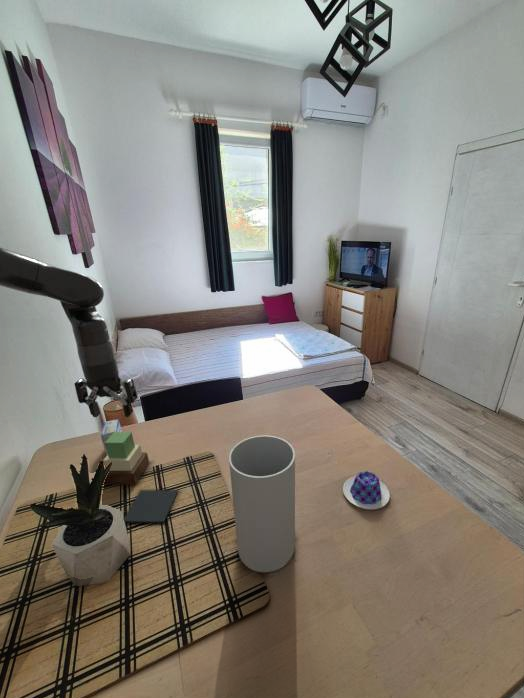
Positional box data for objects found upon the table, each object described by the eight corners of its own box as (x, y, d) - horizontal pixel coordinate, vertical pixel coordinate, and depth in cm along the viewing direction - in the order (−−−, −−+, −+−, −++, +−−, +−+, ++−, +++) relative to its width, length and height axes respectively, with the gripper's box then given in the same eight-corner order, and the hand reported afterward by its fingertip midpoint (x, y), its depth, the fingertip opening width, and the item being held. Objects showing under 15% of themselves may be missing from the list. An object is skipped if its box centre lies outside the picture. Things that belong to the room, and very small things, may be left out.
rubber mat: (122, 522, 78) (122, 521, 77) (141, 491, 87) (140, 490, 87) (164, 523, 77) (163, 521, 77) (178, 492, 87) (177, 490, 86)
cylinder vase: (304, 537, 73) (306, 447, 64) (275, 586, 64) (271, 487, 54) (259, 515, 79) (254, 429, 70) (226, 556, 69) (214, 462, 60)
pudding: (333, 486, 88) (334, 471, 86) (368, 472, 93) (370, 457, 91) (362, 518, 78) (364, 502, 76) (399, 500, 83) (402, 484, 81)
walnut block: (103, 484, 89) (100, 473, 88) (119, 463, 98) (117, 452, 96) (136, 484, 89) (133, 473, 88) (149, 463, 98) (147, 452, 96)
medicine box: (122, 455, 101) (116, 431, 98) (106, 458, 100) (100, 435, 96) (124, 441, 108) (118, 418, 104) (109, 444, 106) (103, 421, 103)
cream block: (105, 470, 89) (102, 460, 87) (118, 454, 95) (116, 444, 94) (131, 470, 89) (128, 460, 87) (142, 454, 95) (140, 444, 94)
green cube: (108, 457, 88) (104, 442, 86) (117, 446, 93) (114, 431, 91) (126, 458, 88) (122, 442, 86) (135, 446, 93) (131, 432, 91)
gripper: (133, 353, 83) (145, 408, 89) (78, 353, 83) (94, 408, 89) (119, 364, 76) (132, 423, 82) (59, 364, 76) (77, 423, 83)
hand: (112, 415), depth 86 cm, fingers open, 8 cm apart
